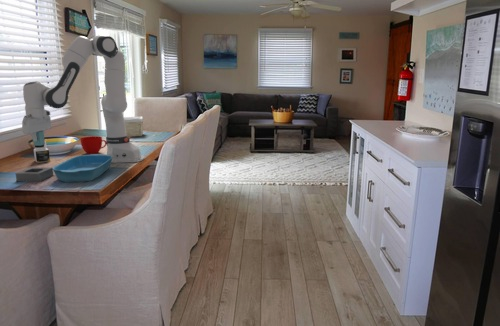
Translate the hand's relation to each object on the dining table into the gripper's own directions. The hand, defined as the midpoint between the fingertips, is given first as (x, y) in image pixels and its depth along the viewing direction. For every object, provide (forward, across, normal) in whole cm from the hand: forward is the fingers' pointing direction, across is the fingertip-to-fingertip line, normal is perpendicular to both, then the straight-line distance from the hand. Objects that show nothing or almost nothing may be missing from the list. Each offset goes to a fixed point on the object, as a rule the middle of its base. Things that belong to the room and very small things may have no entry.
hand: (38, 139), depth 212 cm
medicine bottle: (+17, +24, +14) cm, 33 cm away
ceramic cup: (+17, +47, -8) cm, 51 cm away
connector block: (+3, 0, 0) cm, 3 cm away
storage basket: (+17, +116, -4) cm, 117 cm away
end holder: (+17, -13, -4) cm, 22 cm away
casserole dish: (+18, -4, -26) cm, 32 cm away
